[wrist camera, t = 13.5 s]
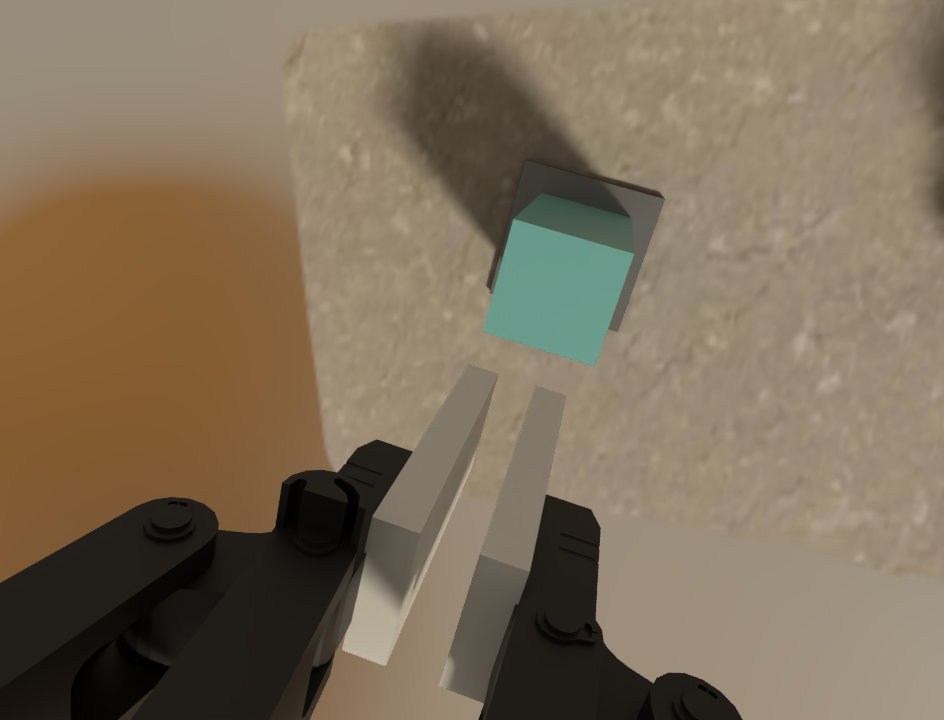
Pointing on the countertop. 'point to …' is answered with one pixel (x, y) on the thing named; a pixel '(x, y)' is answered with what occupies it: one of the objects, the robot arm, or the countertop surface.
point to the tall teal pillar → (561, 277)
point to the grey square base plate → (595, 195)
